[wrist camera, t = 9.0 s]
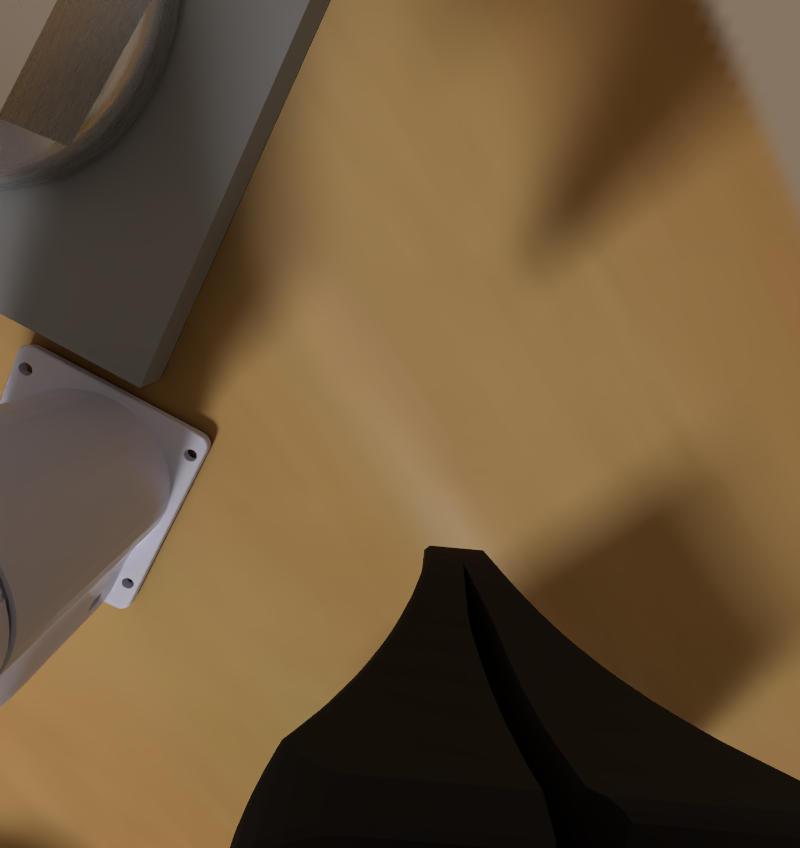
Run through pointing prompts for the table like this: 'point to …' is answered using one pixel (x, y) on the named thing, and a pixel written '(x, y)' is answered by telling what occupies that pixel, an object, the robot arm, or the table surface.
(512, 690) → the robot arm
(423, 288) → the table surface
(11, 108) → the silver lugged disc
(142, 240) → the slate plate
